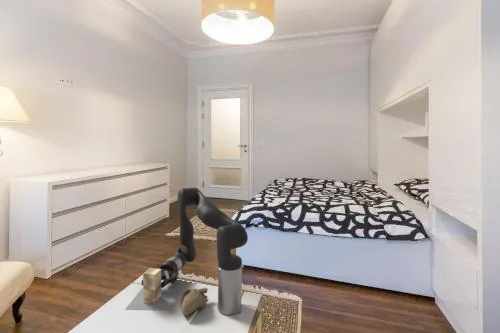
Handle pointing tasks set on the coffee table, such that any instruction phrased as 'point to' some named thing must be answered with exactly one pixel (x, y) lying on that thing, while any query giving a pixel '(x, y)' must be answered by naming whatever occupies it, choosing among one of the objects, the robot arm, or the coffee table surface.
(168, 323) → the coffee table surface
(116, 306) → the coffee table surface
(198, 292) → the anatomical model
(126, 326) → the coffee table surface
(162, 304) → the slate mat
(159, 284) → the birch block
